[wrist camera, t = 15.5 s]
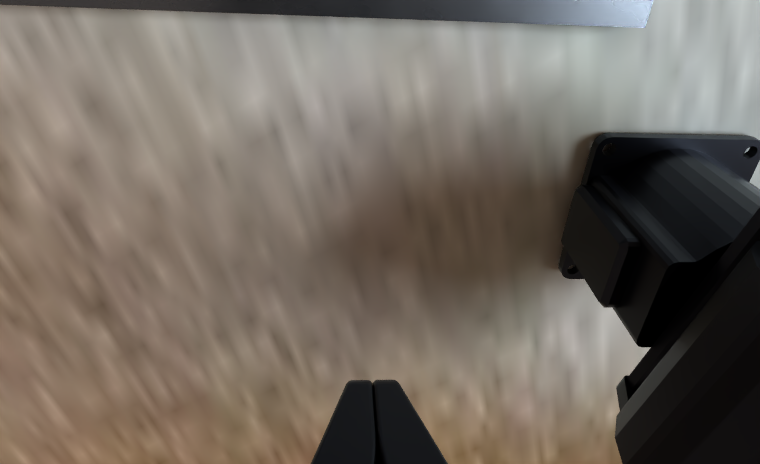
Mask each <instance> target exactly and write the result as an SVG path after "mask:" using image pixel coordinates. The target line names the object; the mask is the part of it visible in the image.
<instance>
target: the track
mask: <svg viewBox="0 0 760 464" xmlns="http://www.w3.org/2000/svg"><path fill="white" fill-rule="evenodd" d="M652 4H653V0H0V5H27V6H55V7H83V8H111V9H139V10H166V11H194V12H222V13H250V14H278V15H306V16H333V17H361V18H389V19H417V20H445V21H473V22H500V23H528V24H556V25H584V26H612V27H640V28H645V27H646V24H647V20H648V17H649V14H650V10H651V7H652Z"/></svg>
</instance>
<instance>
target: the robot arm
mask: <svg viewBox="0 0 760 464" xmlns="http://www.w3.org/2000/svg"><path fill="white" fill-rule="evenodd" d="M610 143H612V145H611V147H610V149H609V150H607V151H604V152H602V151H603V148H604V146H606V145H607V144H610ZM749 147H750V149H749V150H748V152H746V153H745V154H744V152H745V150H746V149H747V148H749ZM759 160H760V140H758V139H756V138H755V137H752V136H732V135H685V134H638V133H605V134H602V135H600V136H598V137H597V138H596V139H595V140H594V142H593V144H592V147H591V150H590V154H589V157H588V161H587V165H586V168H585V172H584V175H583V179H582V182H581V185H580V186H579V187H578V188H577V189H576V190H575V193H574V197H573V200H572V204H571V207H570V211H569V215H568V218H567V222H566V226H565V229H564V233H563V237H562V244H563V246H564V247H563V250H562V254H561V257H560V261H559V270H560V271H561V273H562V275H563V276H564V277H565V278H568V279H585V281H586V282H587V284H588V285H589V287H590V289H591V290H592V292H593V293H594V295H595V296H596V298H597V300H598V301H599V302H600V303H601V305H602V306H603V307H613V309H614V310H615V312H616V313H617V315H618V317H619V318H620V320H621V321H622V323H623V324H624V326H625V327H626V329H627V330H628V332H629V333H630V335H631V336H632V338H633V340H634V341H635V343H636V344H637V345H638V346H639V347H651V348H650V349H649V351H648V352H647V353H646V355H645V356H644V357H643V358H642V360H641V361H640V362H639V364H638V365H637V366H636V367H635V369H634V370H633V371H632V373H631V374H630V375H629V376H624V378H623V379H622V380H621V382H620V383H619V384H618V386H617V388H616V389H617V395H618V402H619V408H620V412H619V414H618V415H617V419H616V431H615V439H616V443H617V446H618V450H619V453H620V456H621V460H622V463H623V464H760V189H758V188H757V187H755V186H754V185H753V184H751V183H750V182H749V181H750V179H751V177H752V175H753V173H754V171H755V169H756V167H757V164H758V162H759ZM571 265H575V266H574V267H573V268H570V269H568V268H569V267H570V266H571ZM311 464H448V463H447V462H446V460H445V458H444V457H443V455H442V453H441V452H440V450H439V448H438V447H437V445H436V443H435V442H434V440H433V439H432V437H431V435H430V434H429V432H428V430H427V429H426V427H425V425H424V424H423V422H422V420H421V419H420V417H419V415H418V414H417V412H416V410H415V409H414V407H413V405H412V404H411V402H410V401H409V399H408V397H407V396H406V394H405V392H404V391H403V389H402V387H401V386H400V384H399V383H398V382H397V381H396V380H376V381H374V382H373V385H372V382H371V381H369V380H351V381H349V382H348V383H347V384H346V386H345V388H344V390H343V393H342V395H341V397H340V399H339V402H338V404H337V406H336V408H335V411H334V413H333V415H332V417H331V420H330V422H329V424H328V426H327V429H326V431H325V433H324V435H323V438H322V440H321V442H320V444H319V446H318V449H317V451H316V453H315V455H314V458H313V460H312V462H311Z"/></svg>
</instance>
